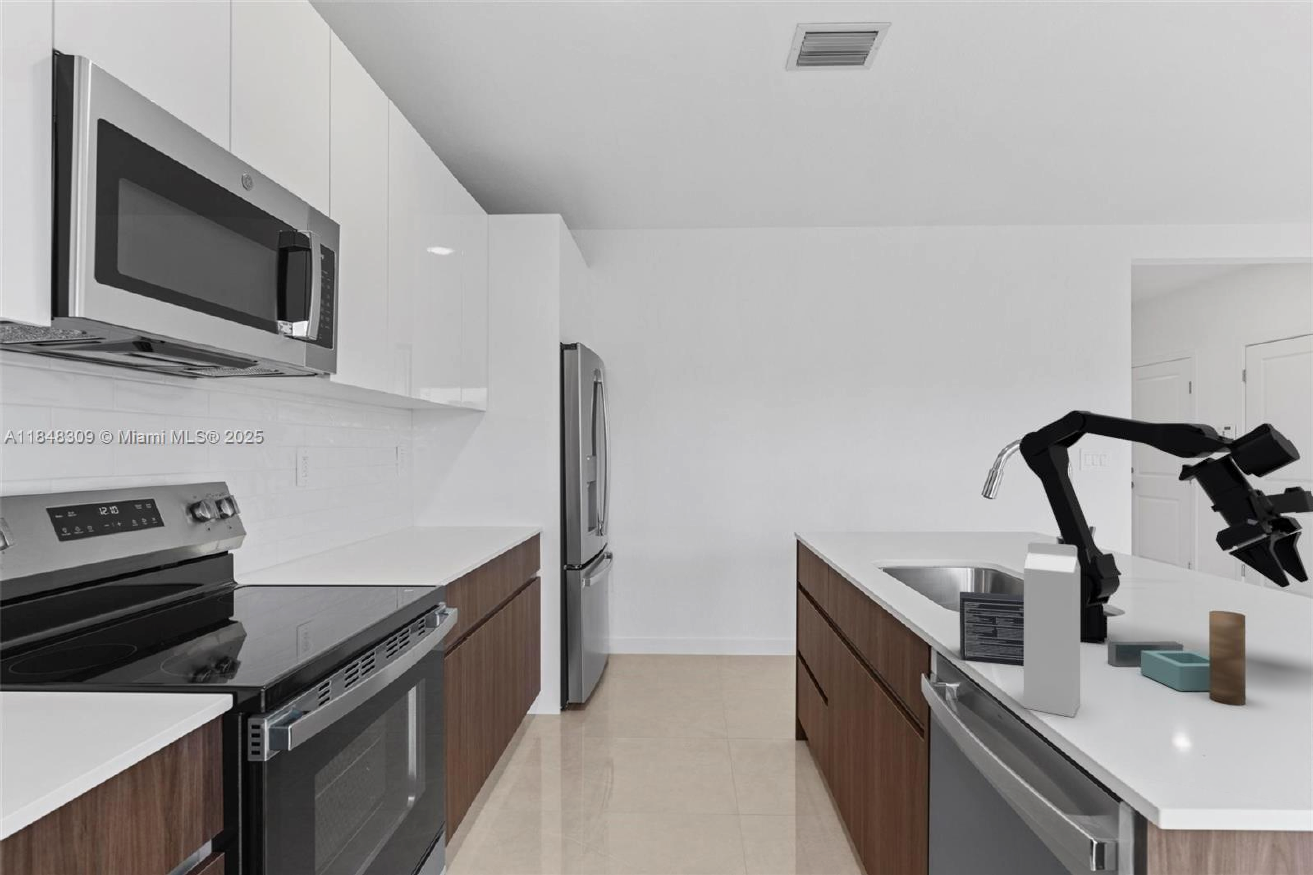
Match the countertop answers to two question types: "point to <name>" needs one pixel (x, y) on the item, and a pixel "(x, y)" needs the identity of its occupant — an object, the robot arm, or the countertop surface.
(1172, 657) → the teal square frame
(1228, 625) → the dowel
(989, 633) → the small box
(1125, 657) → the bar
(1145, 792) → the countertop surface
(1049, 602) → the milk
